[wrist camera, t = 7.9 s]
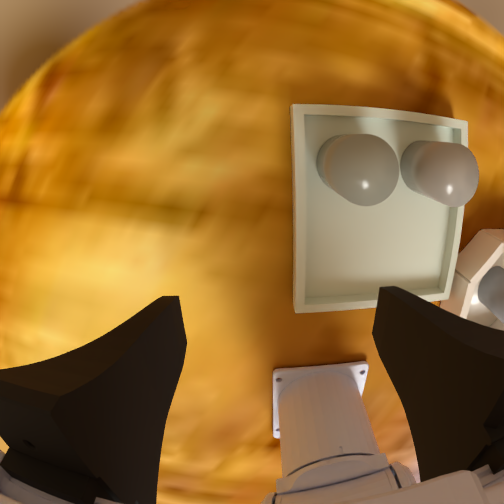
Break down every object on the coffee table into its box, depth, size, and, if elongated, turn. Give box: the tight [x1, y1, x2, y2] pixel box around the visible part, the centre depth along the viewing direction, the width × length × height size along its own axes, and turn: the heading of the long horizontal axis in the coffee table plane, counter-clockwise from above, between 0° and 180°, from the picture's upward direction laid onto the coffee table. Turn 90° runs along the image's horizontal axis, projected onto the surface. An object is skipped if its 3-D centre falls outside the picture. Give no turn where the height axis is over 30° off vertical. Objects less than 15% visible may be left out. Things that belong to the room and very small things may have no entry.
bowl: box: [440, 229, 504, 331], centre depth 20 cm, size 10×10×3 cm
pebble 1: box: [316, 134, 399, 206], centre depth 16 cm, size 4×4×4 cm
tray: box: [290, 104, 468, 314], centre depth 19 cm, size 13×12×2 cm
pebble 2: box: [400, 140, 479, 207], centre depth 16 cm, size 4×4×4 cm
